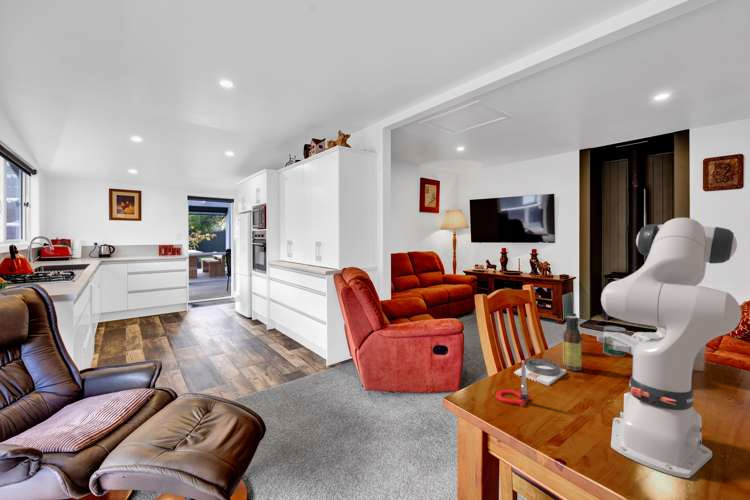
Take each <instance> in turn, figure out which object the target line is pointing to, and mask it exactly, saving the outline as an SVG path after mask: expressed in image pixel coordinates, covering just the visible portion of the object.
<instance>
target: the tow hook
mask: <svg viewBox="0 0 750 500" xmlns="http://www.w3.org/2000/svg"><path fill="white" fill-rule="evenodd" d="M525 365H526V363H525V359H523V360H521V367H520V368H521V374H522V377H521V385H520V391H521V392H520V391H516V390H512V389H499V390H498V391H496V392H495V397H496V399H497V400H498V401H500V402H502V403H506V404H511V405H519V406H520V407H524V406H525V405H526V404H527V403H528V401H529V400H530V398H531V395H530V394H529V393H528V386H527V378H526V368H525ZM502 395H514V396H515V397H518V398H519V399H518V398H515V399H510V398H507V397H504V396H502Z"/></svg>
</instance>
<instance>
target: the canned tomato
mask: <svg viewBox="0 0 750 500" xmlns="http://www.w3.org/2000/svg"><path fill="white" fill-rule="evenodd" d="M604 332H618V333H624V334H626V335H627V329H626V328H624V327H620V326H616V325H604V326H603V333H604ZM602 343H603V344H602V353H604V354H605V353H606V355H609V356H612V355H614V357H625V356H626V352H623V351H616V350H614V349H613V348H612V347H613V345H612V344H610V343H608V342H602Z"/></svg>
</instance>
